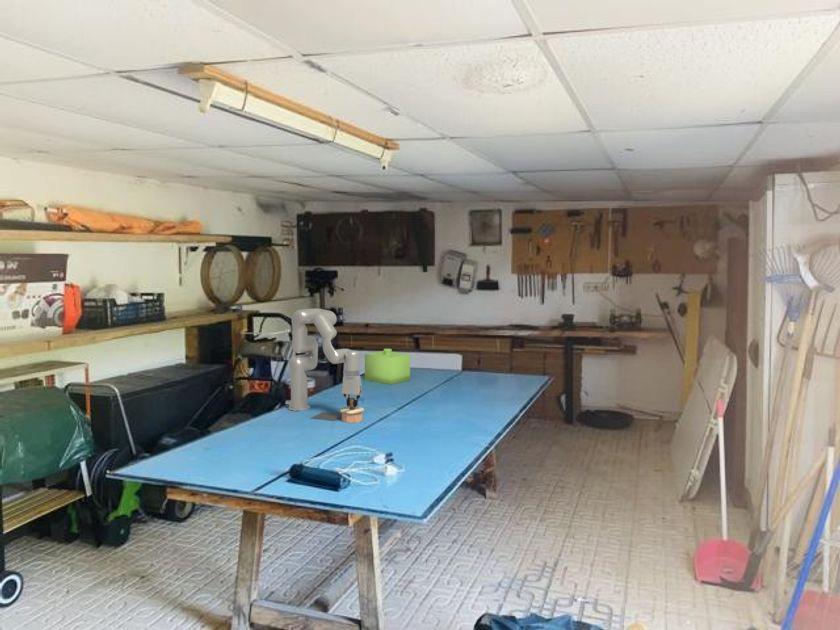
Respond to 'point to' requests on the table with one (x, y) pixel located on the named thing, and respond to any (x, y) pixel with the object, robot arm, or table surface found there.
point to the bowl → (352, 417)
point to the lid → (351, 408)
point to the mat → (327, 416)
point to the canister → (387, 367)
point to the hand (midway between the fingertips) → (352, 406)
